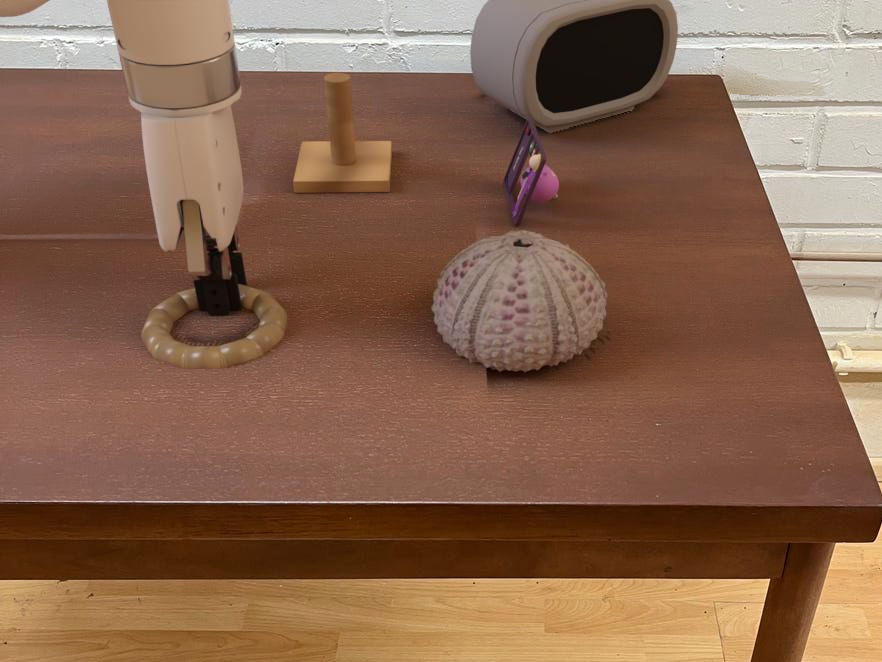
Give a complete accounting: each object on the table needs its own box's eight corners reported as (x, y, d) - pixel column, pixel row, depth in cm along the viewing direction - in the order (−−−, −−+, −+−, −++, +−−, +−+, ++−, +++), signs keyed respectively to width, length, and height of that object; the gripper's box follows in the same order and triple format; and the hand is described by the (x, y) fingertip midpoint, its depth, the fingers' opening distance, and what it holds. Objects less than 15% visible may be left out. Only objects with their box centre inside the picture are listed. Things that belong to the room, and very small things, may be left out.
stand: (294, 193, 95) (282, 96, 89) (303, 152, 102) (292, 59, 96) (389, 192, 96) (384, 95, 89) (392, 152, 102) (387, 59, 96)
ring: (132, 380, 73) (126, 357, 71) (161, 301, 81) (156, 280, 79) (279, 378, 73) (276, 355, 72) (294, 300, 81) (291, 278, 80)
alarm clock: (520, 146, 103) (525, 8, 95) (470, 115, 109) (470, -18, 100) (671, 105, 112) (689, -25, 103) (617, 78, 118) (629, -47, 109)
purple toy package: (520, 113, 93) (535, 155, 86) (572, 130, 94) (589, 172, 88) (495, 179, 97) (507, 223, 90) (544, 194, 99) (559, 238, 92)
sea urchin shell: (416, 378, 73) (412, 282, 68) (446, 283, 83) (445, 192, 78) (599, 395, 72) (610, 298, 67) (607, 296, 82) (617, 205, 77)
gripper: (150, 34, 74) (195, 258, 86) (96, 122, 62) (158, 368, 74) (253, 34, 74) (283, 257, 86) (220, 122, 62) (260, 367, 74)
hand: (225, 307), depth 80 cm, fingers closed on ring, 2 cm apart
